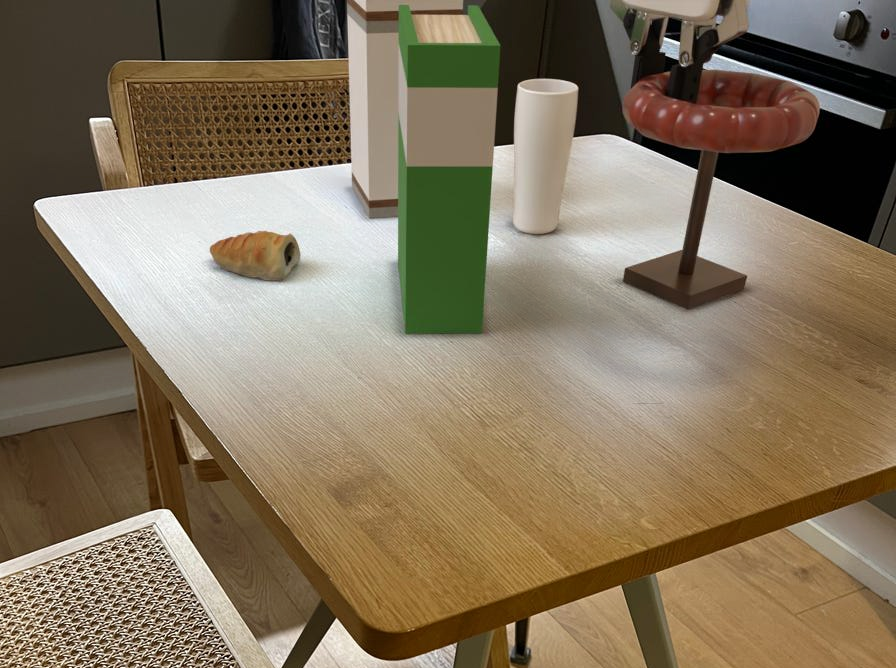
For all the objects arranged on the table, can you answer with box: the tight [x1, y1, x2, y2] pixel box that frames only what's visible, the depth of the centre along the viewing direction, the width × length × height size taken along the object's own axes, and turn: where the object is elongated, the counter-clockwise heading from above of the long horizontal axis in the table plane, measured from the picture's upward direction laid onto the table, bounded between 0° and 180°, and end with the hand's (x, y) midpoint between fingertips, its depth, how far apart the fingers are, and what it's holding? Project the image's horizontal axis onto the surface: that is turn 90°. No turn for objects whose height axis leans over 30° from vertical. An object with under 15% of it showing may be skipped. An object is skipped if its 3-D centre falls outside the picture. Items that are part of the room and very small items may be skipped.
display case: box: [346, 0, 464, 219], centre depth 110 cm, size 11×11×35 cm
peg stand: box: [622, 150, 748, 311], centre depth 98 cm, size 9×9×14 cm
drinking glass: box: [512, 78, 579, 235], centre depth 110 cm, size 7×7×15 cm
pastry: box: [209, 230, 301, 281], centre depth 103 cm, size 9×7×4 cm
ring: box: [622, 69, 821, 154], centre depth 77 cm, size 15×15×3 cm
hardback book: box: [397, 4, 501, 335], centre depth 91 cm, size 18×7×24 cm, turn 3°
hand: (660, 110), depth 82 cm, fingers closed on ring, 3 cm apart
